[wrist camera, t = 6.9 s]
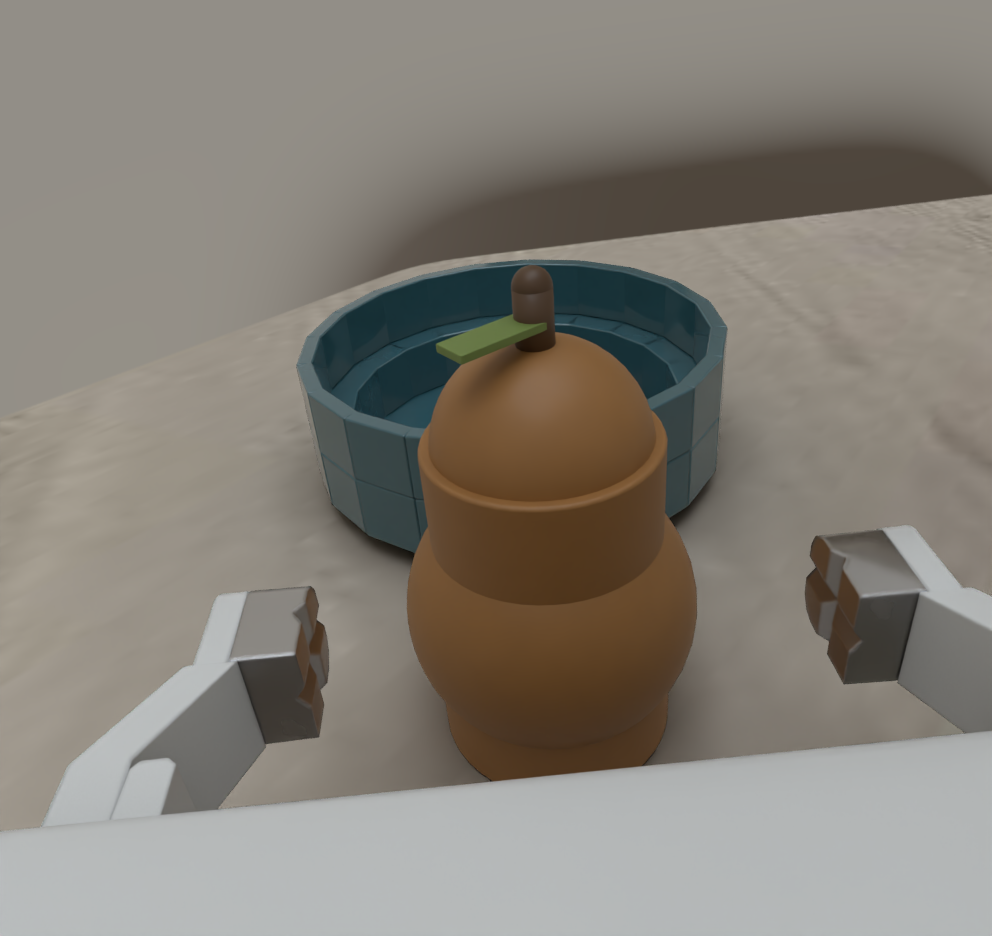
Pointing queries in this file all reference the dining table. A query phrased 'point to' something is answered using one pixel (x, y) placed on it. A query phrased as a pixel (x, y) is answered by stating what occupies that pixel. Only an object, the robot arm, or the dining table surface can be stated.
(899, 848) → the robot arm
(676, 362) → the bowl
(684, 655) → the pear
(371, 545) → the dining table surface
